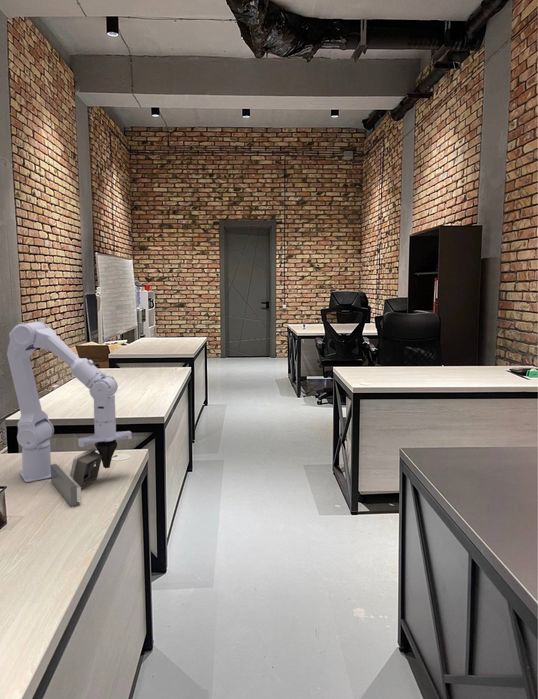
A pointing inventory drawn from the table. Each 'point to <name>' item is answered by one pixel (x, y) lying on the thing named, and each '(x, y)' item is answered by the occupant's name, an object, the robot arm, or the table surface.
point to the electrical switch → (86, 467)
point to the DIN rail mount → (65, 485)
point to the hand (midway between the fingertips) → (106, 467)
